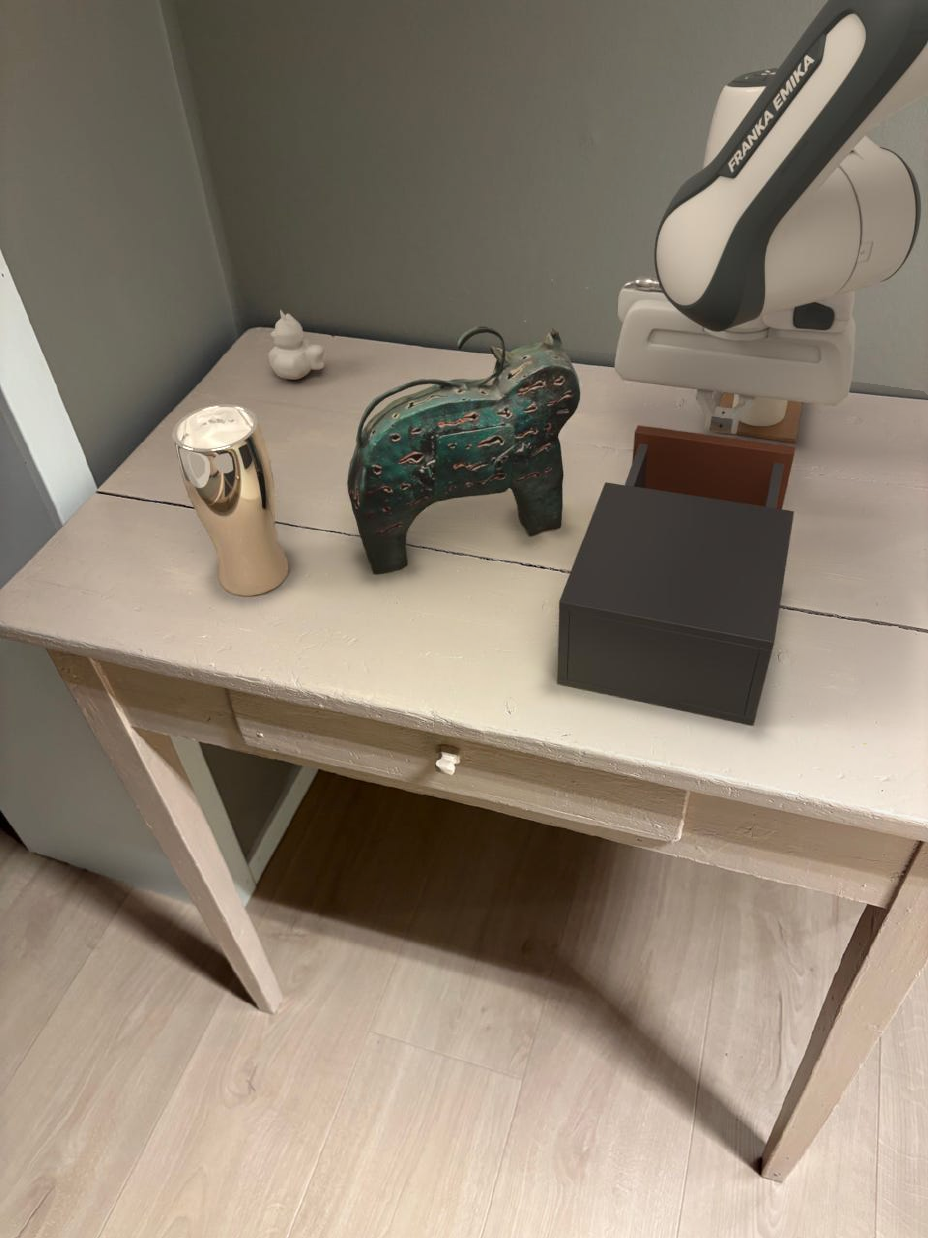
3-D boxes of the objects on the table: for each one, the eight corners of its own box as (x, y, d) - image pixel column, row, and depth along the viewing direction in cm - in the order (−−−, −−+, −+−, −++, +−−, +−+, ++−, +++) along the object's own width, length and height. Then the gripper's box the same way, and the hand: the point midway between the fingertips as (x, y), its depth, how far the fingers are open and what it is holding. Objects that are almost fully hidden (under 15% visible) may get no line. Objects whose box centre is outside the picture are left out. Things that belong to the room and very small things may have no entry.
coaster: (802, 400, 99) (803, 397, 99) (795, 442, 94) (796, 439, 94) (724, 391, 102) (724, 387, 101) (712, 431, 96) (713, 428, 96)
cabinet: (600, 563, 83) (605, 481, 77) (774, 594, 79) (794, 510, 73) (556, 684, 73) (558, 601, 67) (753, 726, 69) (774, 642, 63)
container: (788, 402, 99) (813, 280, 90) (783, 430, 95) (809, 306, 86) (734, 395, 100) (754, 275, 91) (727, 423, 96) (747, 300, 87)
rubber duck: (282, 361, 111) (269, 295, 105) (336, 366, 110) (325, 299, 104) (264, 385, 107) (249, 318, 102) (319, 390, 106) (307, 323, 100)
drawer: (641, 461, 92) (646, 399, 87) (786, 482, 88) (800, 418, 83) (598, 581, 80) (602, 516, 75) (764, 611, 76) (779, 545, 71)
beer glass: (307, 555, 85) (276, 408, 75) (271, 606, 81) (232, 458, 70) (238, 542, 87) (198, 397, 77) (199, 591, 83) (151, 444, 72)
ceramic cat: (559, 496, 90) (564, 292, 76) (587, 537, 85) (598, 328, 71) (354, 547, 86) (319, 342, 72) (372, 592, 81) (338, 383, 68)
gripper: (611, 290, 80) (602, 432, 89) (870, 316, 74) (832, 464, 84) (626, 258, 84) (617, 397, 94) (873, 280, 79) (836, 425, 88)
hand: (720, 429), depth 89 cm, fingers closed
